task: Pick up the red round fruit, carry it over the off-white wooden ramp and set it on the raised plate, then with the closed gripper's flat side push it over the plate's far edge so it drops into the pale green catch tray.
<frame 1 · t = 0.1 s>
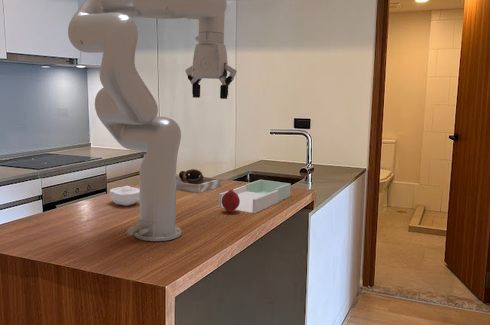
hand: (209, 98, 140), 37 cm above the worktop, tool pointing down, fingers open, 9 cm apart
pottery mug: (190, 187, 189), resting on mug stand
bench: (250, 204, 162), on the worktop
red round fruit: (230, 213, 150), on the worktop
catch tray: (268, 190, 174), on the worktop
mug stand: (190, 186, 189), on the worktop
cell model: (125, 205, 155), on the worktop
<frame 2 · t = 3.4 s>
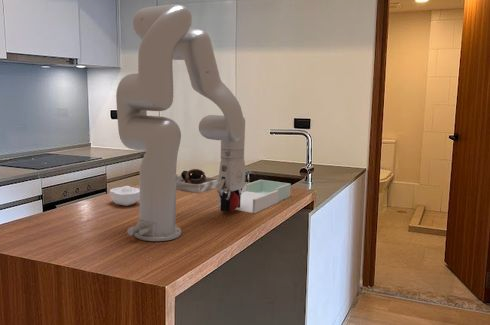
hand: (230, 208, 150), 1 cm above the worktop, tool pointing down, fingers closed on red round fruit, 5 cm apart
pottery mug: (193, 186, 190), resting on mug stand
red round fruit: (230, 213, 150), on the worktop, touching gripper
everything else where it was.
when the fingers open (5 cm above the worktop, at t = 8.1 s): red round fruit drops 1 cm, resting on bench.
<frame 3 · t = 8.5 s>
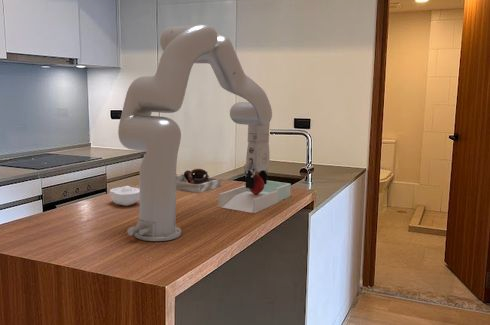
hand: (256, 186, 165), 6 cm above the worktop, tool pointing down, fingers open, 9 cm apart
pottery mug: (196, 186, 190), resting on mug stand
red round fruit: (255, 195, 165), point 2 cm above the worktop, touching bench
everything else where it was.
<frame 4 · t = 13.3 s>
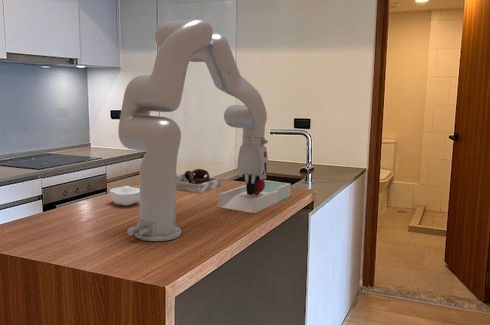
hand: (250, 193, 162), 4 cm above the worktop, tool pointing down, fingers closed
red round fruit: (256, 195, 166), point 2 cm above the worktop, touching gripper
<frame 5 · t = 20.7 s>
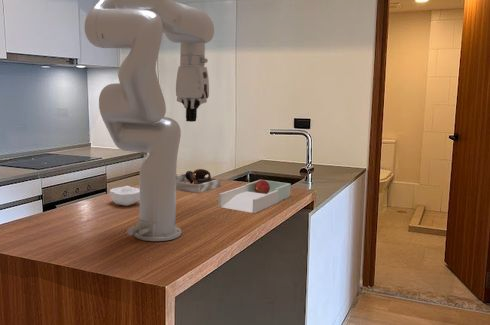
hand: (191, 121, 146), 29 cm above the worktop, tool pointing down, fingers closed
red round fruit: (256, 188, 171), point 4 cm above the worktop, touching catch tray
at the end: red round fruit inside the target area on the catch tray (5.8 cm from its centre), point 4.0 cm above the catch tray's base; red round fruit moved 23.5 cm from its start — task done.
